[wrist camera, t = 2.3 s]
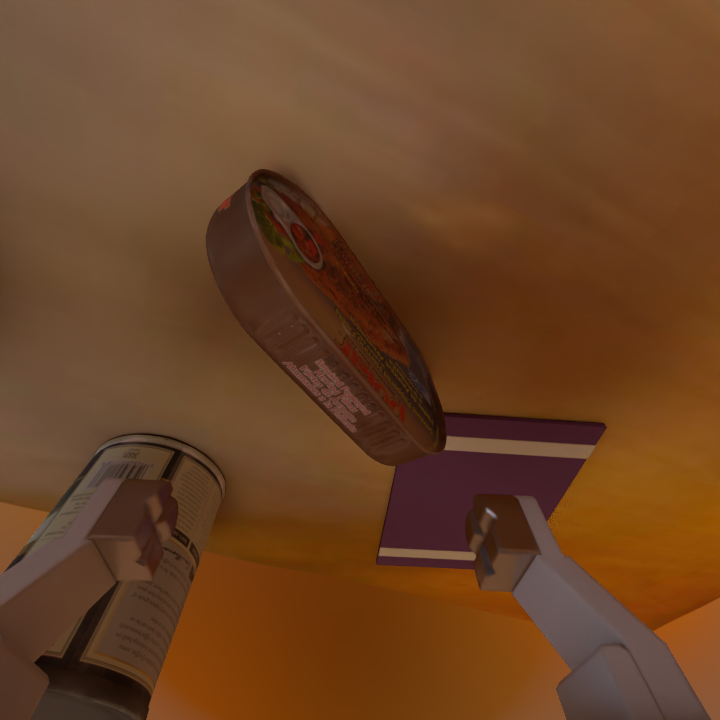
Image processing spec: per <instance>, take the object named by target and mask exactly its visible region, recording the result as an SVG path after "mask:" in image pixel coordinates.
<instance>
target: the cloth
mask: <svg viewBox="0 0 720 720" xmlns="http://www.w3.org/2000/svg"><path fill="white" fill-rule="evenodd" d="M444 418H445V423H446V431H447V432H446V433H447V440H446V446H445V449H444V451H443V452H441V453H440V454H436V455H431V454H430V455H428V456H425V457H422V458H419V459H416V460H413V461H411V462H408V463H405V464H402V465H397V466H396V470H395V475H394V479H393V484H392V489H391V494H390V498H389V503H388V508H387V513H386V517H385V522H384V527H383V532H382V536H381V541H380V546H379V551H378V556H377V560H376V564H377V565H395V566H416V567H437V568H458V569H474V566H473V563H474V560H475V558H476V555H475V553H474V552H473V551H472V550H471V549H470V548H469V547H468V543H467V539H466V532H465V521H466V517H467V514H468V512H469V511H470V510H472V509H473V508H474V506H473V499H474V497H475V496H476V495H477V494H502V495H513V496H533V497H534V498H535V499H536V500H537V502H538V505H539V507H540V509H541V511H542V513H543V515H544V517H545V519H546V521H547V520H548V519H549V517H550V516H551V514H552V513H553V511H554V509H555V508H556V506H557V505H558V503H559V502H560V500H561V498H562V497H563V495H564V494H565V492H566V491H567V489H568V487H569V486H570V484H571V483H572V481H573V480H574V478H575V476H576V475H577V473H578V472H579V470H580V469H581V467H582V465H583V464H584V462H585V461H586V459H588V458H589V456H590V455H591V453H592V452H593V450H594V449H595V447H596V444H597V442H598V440H599V439H600V437H601V436H602V434H603V433H604V431H605V429H606V428H607V427H606V426H605V424H603V423H588V422H573V421H558V420H543V419H528V418H513V417H498V416H483V415H468V414H453V413H444Z"/></svg>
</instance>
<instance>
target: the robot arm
mask: <svg viewBox="0 0 720 720" xmlns="http://www.w3.org/2000/svg"><path fill="white" fill-rule="evenodd" d="M172 491H173V487H172V484H171V482H170V481H161V480H145V479H129V478H110V477H107V478H106V479H105V480H103V481H102V482H101V483H100V484H99V485H98V487H97V488H96V490H95V491H94V492H93V494H92V495H91V497H90V498H89V500H88V501H87V502H86V504H85V505H84V507H83V508H82V509H81V511H80V512H79V514H78V515H77V517H76V518H75V519H74V521H73V522H72V524H71V525H70V527H69V528H68V529H67V531H66V532H65V534H64V535H63V537H62V538H54V539H53V540H52V541H50V542H49V543H47V544H46V545H44V546H43V547H41V548H40V549H38V550H37V551H35V552H34V553H32V554H31V555H29V556H28V557H26V558H25V559H23V560H22V561H20V562H19V563H17V564H16V565H14V566H13V567H11V568H10V569H8V570H7V571H5V572H4V573H3V574H1V575H0V720H30V719H31V717H32V715H33V713H34V711H35V709H36V707H37V706H38V704H39V702H40V700H41V698H42V696H43V694H44V692H45V690H46V688H47V687H48V685H49V678H48V675H47V674H46V673H44V672H43V671H42V670H41V669H40V668H39V667H38V666H37V665H36V664H34V662H35V661H36V660H37V659H38V658H39V657H40V656H41V655H42V654H43V653H44V652H45V651H46V650H47V649H48V648H49V647H51V646H52V645H53V644H54V643H55V642H56V641H57V640H58V639H59V638H60V637H61V636H62V635H63V634H64V633H65V632H66V631H67V630H68V629H69V628H70V627H71V626H72V625H73V624H74V623H75V622H76V621H77V620H78V619H79V618H80V617H81V616H82V615H84V614H85V613H86V612H87V611H88V610H89V609H90V608H91V607H92V606H93V605H94V604H95V603H96V602H97V601H98V600H99V599H100V598H101V597H102V596H103V595H104V594H105V593H106V592H107V591H108V590H109V589H110V588H111V587H112V586H113V585H114V584H115V583H116V581H152V579H153V577H154V575H155V573H156V570H157V568H158V566H159V564H160V561H161V559H162V557H163V555H164V552H163V549H162V544H163V543H164V542H165V541H167V540H168V539H169V538H170V537H171V536H172V534H173V531H174V529H175V527H176V523H177V518H178V514H179V513H178V503H177V500H176V499H175V498H174V497H172V496H171V493H172ZM473 506H474V508H473V509H472V510H470V511H469V512H468V514H467V517H466V521H465V532H466V539H467V543H468V547H469V548H470V549H471V550H472V551H473V552H474V553H475V555H476V558H475V560H474V563H473V566H474V569H475V573H476V577H477V580H478V584H479V588H480V590H488V591H505V592H512V595H513V596H514V597H515V599H516V600H517V601H518V602H519V604H520V605H521V606H522V608H523V609H524V610H525V611H526V613H527V614H528V615H529V616H530V618H531V619H532V620H533V622H534V623H535V624H536V625H537V627H538V628H539V629H540V631H541V632H542V633H543V634H544V636H545V637H546V638H547V639H548V641H549V642H550V643H551V645H552V646H553V647H554V648H555V650H556V651H557V652H558V653H559V655H560V656H561V657H562V659H563V660H564V661H565V663H566V664H567V665H568V666H569V668H570V669H571V670H572V671H571V672H570V673H569V674H568V675H567V676H566V677H565V678H564V679H563V680H561V681H560V682H559V684H558V686H557V688H556V690H557V693H558V696H559V699H560V702H561V705H562V707H563V710H564V713H565V716H566V719H567V720H711V719H710V717H709V715H708V714H707V712H706V710H705V709H704V707H703V705H702V704H701V702H700V700H699V698H698V697H697V695H696V693H695V692H694V690H693V688H692V687H691V685H690V683H689V682H688V680H687V678H686V676H685V675H684V673H683V671H682V670H681V668H680V666H679V665H678V663H677V662H676V660H675V658H674V656H673V655H672V653H671V651H670V649H669V648H668V646H667V644H666V643H665V642H664V641H662V640H661V639H660V638H659V637H658V636H657V635H656V634H655V633H654V632H653V631H651V630H650V629H649V628H648V627H647V626H646V625H645V624H644V623H643V622H641V621H640V620H639V619H638V618H637V617H636V616H635V615H634V614H633V613H631V612H630V611H629V610H628V609H627V608H626V607H625V606H624V605H623V604H621V603H620V602H619V601H618V600H617V599H616V598H615V597H614V596H613V595H612V594H610V593H609V592H608V591H607V590H606V589H605V588H604V587H603V586H602V585H600V584H599V583H598V582H597V581H596V580H595V579H594V578H593V577H592V576H590V575H589V574H588V573H587V572H586V571H585V570H584V569H583V568H582V567H580V566H579V565H578V564H577V563H576V562H575V561H574V560H573V559H572V558H571V557H569V556H563V554H562V552H561V550H560V548H559V546H558V544H557V542H556V540H555V537H554V535H553V533H552V531H551V529H550V527H549V525H548V523H547V521H546V519H545V517H544V515H543V513H542V511H541V509H540V507H539V505H538V502H537V500H536V499H535V498H534V497H533V496H513V495H502V494H477V495H476V496H475V497H474V499H473Z"/></svg>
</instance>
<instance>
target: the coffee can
mask: <svg viewBox="0 0 720 720" xmlns="http://www.w3.org/2000/svg"><path fill="white" fill-rule="evenodd" d="M107 477H110V478H129V479H145V480H161V481H170V482H171V484H172V487H173V491H172V493H171V496H172V497H174V498H175V499H176V500H177V503H178V513H179V514H178V518H177V523H176V527H175V529H174V531H173V534H172V536H171V537H170V538H169V539H168V540H167V541H165V542H164V543H163V544H162V549H163V552H164V555H163V557H162V559H161V561H160V564H159V566H158V568H157V570H156V573H155V575H154V577H153V579H152V581H116V583H115V584H114V585H113V586H112V587H111V588H110V589H109V590H108V591H107V592H106V593H105V594H104V595H103V596H102V597H101V598H100V599H99V600H98V601H97V602H96V603H95V604H94V605H93V606H92V607H91V608H90V609H89V610H88V611H87V612H86V613H85V614H84V615H82V616H81V617H80V618H79V619H78V620H77V621H76V622H75V623H74V624H73V625H72V626H71V627H70V628H69V629H68V630H67V631H66V632H65V633H64V634H63V635H62V636H61V637H60V638H59V639H58V640H57V641H56V642H55V643H54V644H53V645H52V646H51V647H49V648H48V649H47V650H46V651H45V652H44V653H43V654H42V655H41V656H40V657H39V658H38V659H37V660H36V661H35V662H34V664H36V665H37V666H38V667H39V668H40V669H41V670H42V671H43V672H44V673H46V674H47V675H48V678H49V685H48V687H47V688H46V690H45V692H44V694H43V696H42V698H41V700H40V702H39V704H38V706H37V707H36V709H35V711H34V713H33V715H32V717H31V719H30V720H146V718H147V714H148V710H149V709H148V708H149V707H148V706H149V702H150V699H151V697H152V694H153V691H154V688H155V685H156V683H157V680H158V677H159V674H160V672H161V669H162V666H163V663H164V660H165V658H166V655H167V652H168V649H169V646H170V644H171V641H172V638H173V635H174V632H175V629H176V627H177V624H178V621H179V618H180V615H181V612H182V610H183V607H184V604H185V601H186V598H187V596H188V593H189V590H190V587H191V584H192V581H193V579H194V576H195V573H196V570H197V567H198V565H199V562H200V559H201V556H202V553H203V551H204V548H205V545H206V542H207V540H208V537H209V534H210V531H211V528H212V525H213V522H214V520H215V517H216V514H217V511H218V508H219V506H220V503H221V501H222V499H223V497H224V495H225V481H224V478H223V476H222V474H221V472H220V471H219V469H218V468H217V467H216V466H215V464H214V463H213V462H212V461H211V460H210V459H208V458H207V457H206V456H204V455H203V454H202V453H200V452H199V451H197V450H196V449H194V448H192V447H190V446H187V445H185V444H183V443H181V442H178V441H176V440H172V439H169V438H166V437H159V436H152V435H128V436H122V437H119V438H115V439H112V440H110V441H108V442H107V443H105V444H103V445H102V446H101V447H100V448H99V449H98V450H97V451H96V452H95V454H94V456H93V458H92V459H91V461H90V462H89V463H88V464H87V466H86V467H85V468H84V470H83V471H82V472H81V474H80V475H79V476H78V477H77V479H76V480H75V481H74V483H73V484H72V485H71V487H70V488H69V489H68V490H67V492H66V493H65V494H64V495H63V497H62V498H61V499H60V501H59V502H58V503H57V505H56V506H55V507H54V509H53V510H52V511H51V512H50V514H49V515H48V516H47V518H46V519H45V520H44V521H43V523H42V524H41V526H40V527H39V528H38V529H37V531H36V532H35V533H34V534H33V536H32V537H31V538H30V540H29V541H28V542H27V544H26V545H25V546H24V547H23V549H22V550H21V551H20V553H19V554H18V555H17V556H16V558H15V559H14V560H13V561H12V563H11V564H10V565H9V566H8V568H7V569H6V570H5V571H7V570H8V569H10V568H11V567H13V566H14V565H16V564H17V563H19V562H20V561H22V560H23V559H25V558H26V557H28V556H29V555H31V554H32V553H34V552H35V551H37V550H38V549H40V548H41V547H43V546H44V545H46V544H47V543H49V542H50V541H52V540H53V539H54V538H62V537H63V535H64V534H65V532H66V531H67V529H68V528H69V527H70V525H71V524H72V522H73V521H74V519H75V518H76V517H77V515H78V514H79V512H80V511H81V509H82V508H83V507H84V505H85V504H86V502H87V501H88V500H89V498H90V497H91V495H92V494H93V492H94V491H95V490H96V488H97V487H98V485H99V484H100V483H101V482H102V481H103V480H105V479H106V478H107Z"/></svg>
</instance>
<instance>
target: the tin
mask: <svg viewBox="0 0 720 720" xmlns="http://www.w3.org/2000/svg"><path fill="white" fill-rule="evenodd" d="M206 248H207V255H208V260H209V263H210V267H211V270H212V273H213V276H214V278H215V281H216V283H217V285H218V288H219V290H220V292H221V294H222V296H223V297H224V299H225V301H226V303H227V305H228V306H229V308H230V310H231V311H232V313H233V314H234V316H235V317H236V319H237V320H238V321H239V323H240V324H241V326H242V327H243V328H244V329H245V331H246V332H247V333H248V334H249V336H250V337H251V338H252V339H253V340H254V341H255V342H256V343H257V344H258V345H259V346H260V347H261V348H262V349H263V350H264V351H265V352H266V353H267V354H268V355H269V356H270V357H271V358H272V359H273V360H274V361H275V362H276V363H277V364H278V365H279V367H280V368H281V369H282V370H284V372H285V373H286V374H287V375H288V376H289V377H290V378H291V379H292V380H293V381H294V382H295V383H296V384H297V385H298V386H299V387H300V388H301V389H302V390H303V391H304V392H305V393H306V394H307V395H308V396H309V397H310V398H311V399H312V400H313V401H314V402H315V403H316V404H317V405H318V406H319V407H320V408H321V409H322V410H323V411H324V412H325V413H326V414H327V415H328V416H329V417H330V418H331V419H332V420H333V421H334V422H335V423H336V424H337V425H338V426H339V427H340V428H341V429H342V430H343V431H344V432H345V433H346V434H347V435H348V436H349V437H350V438H351V439H352V440H353V441H354V442H355V443H356V444H357V445H358V446H359V447H360V448H361V449H362V450H363V451H364V452H365V453H366V454H367V455H369V456H370V457H371V458H372V459H374V460H375V461H377V462H379V463H381V464H384V465H388V466H397V465H402V464H405V463H408V462H411V461H413V460H416V459H419V458H422V457H425V456H428V455H430V454H431V455H436V454H440V453H441V452H443V451H444V449H445V446H446V440H447V433H446V432H447V431H446V423H445V418H444V413H443V410H442V406H441V403H440V400H439V397H438V394H437V391H436V389H435V386H434V383H433V381H432V378H431V375H430V373H429V370H428V368H427V366H426V364H425V362H424V360H423V358H422V356H421V354H420V352H419V350H418V349H417V347H416V345H415V343H414V342H413V340H412V339H411V337H410V335H409V334H408V332H407V331H406V329H405V328H404V326H403V325H402V323H401V322H400V321H399V319H398V318H397V316H396V315H395V313H394V312H393V311H392V309H391V308H390V306H389V305H388V304H387V302H386V300H385V299H384V298H383V296H382V295H381V294H380V292H379V291H378V289H377V288H376V286H375V285H374V283H373V282H372V281H371V279H370V278H369V276H368V275H367V273H366V272H365V271H364V269H363V267H362V266H361V265H360V263H359V262H358V260H357V259H356V257H355V256H354V255H353V253H352V252H351V250H350V249H349V247H348V246H347V245H346V243H345V242H344V240H343V239H342V237H341V236H340V234H339V233H338V232H337V230H336V229H335V227H334V226H333V225H332V223H331V222H330V221H329V220H328V218H327V217H326V216H325V214H324V213H323V212H322V211H321V210H320V209H319V208H318V207H317V205H316V204H315V203H314V202H313V201H312V200H311V199H310V198H309V197H308V196H307V195H306V194H305V193H304V192H303V191H302V190H301V189H300V188H299V187H298V186H296V185H295V184H294V183H292V182H291V181H290V180H288V179H287V178H285V177H283V176H282V175H280V174H278V173H276V172H273V171H270V170H266V169H260V170H257V171H255V172H253V173H252V175H251V176H250V177H249V179H248V181H247V183H246V184H244V185H243V186H242V187H241V188H240V189H239V190H238V191H236V192H235V193H234V194H233V195H232V196H230V197H229V198H228V199H227V200H225V201H224V202H223V203H222V204H221V205H220V206H219V207H218V208H217V209H216V211H215V212H214V214H213V216H212V218H211V220H210V222H209V225H208V229H207V234H206Z"/></svg>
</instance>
